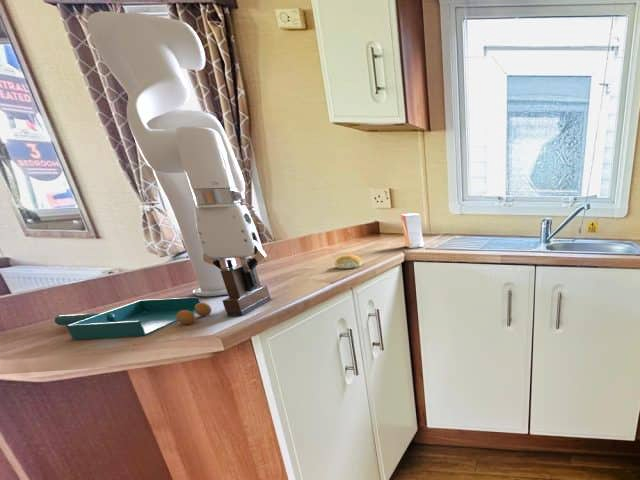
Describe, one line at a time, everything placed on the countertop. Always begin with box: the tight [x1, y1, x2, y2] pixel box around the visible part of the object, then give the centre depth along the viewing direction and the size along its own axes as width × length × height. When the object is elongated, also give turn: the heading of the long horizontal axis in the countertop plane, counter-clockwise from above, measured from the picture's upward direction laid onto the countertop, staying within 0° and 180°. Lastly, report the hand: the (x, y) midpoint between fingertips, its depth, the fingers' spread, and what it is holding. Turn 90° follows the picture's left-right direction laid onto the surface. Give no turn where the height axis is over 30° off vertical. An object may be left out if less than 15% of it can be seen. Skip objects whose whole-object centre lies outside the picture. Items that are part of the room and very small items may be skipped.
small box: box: [400, 213, 425, 249], centre depth 179 cm, size 8×6×13 cm
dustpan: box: [53, 296, 201, 341], centre depth 85 cm, size 22×19×3 cm
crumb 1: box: [177, 310, 195, 325], centre depth 83 cm, size 3×3×3 cm
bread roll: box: [334, 253, 363, 270], centre depth 139 cm, size 8×9×4 cm
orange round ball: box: [195, 301, 212, 317], centre depth 88 cm, size 3×3×3 cm
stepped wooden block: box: [221, 263, 272, 318], centre depth 92 cm, size 14×3×9 cm, turn 5°
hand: (245, 289), depth 92 cm, fingers closed on stepped wooden block, 2 cm apart
